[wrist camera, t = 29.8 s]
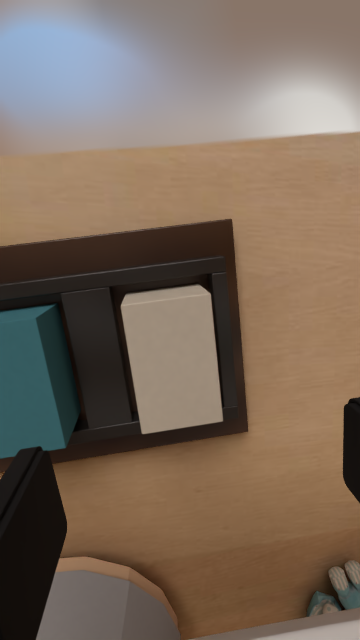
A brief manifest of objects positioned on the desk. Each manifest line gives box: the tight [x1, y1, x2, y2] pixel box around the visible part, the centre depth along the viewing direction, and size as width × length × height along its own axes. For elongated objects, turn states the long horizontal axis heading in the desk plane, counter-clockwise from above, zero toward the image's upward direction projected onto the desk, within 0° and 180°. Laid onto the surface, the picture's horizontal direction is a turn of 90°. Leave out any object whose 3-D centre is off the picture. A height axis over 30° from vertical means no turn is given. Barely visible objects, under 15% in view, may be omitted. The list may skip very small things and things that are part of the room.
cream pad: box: [121, 284, 223, 434], centre depth 21 cm, size 8×5×4 cm, turn 7°
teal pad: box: [0, 303, 81, 459], centre depth 20 cm, size 8×5×4 cm, turn 7°
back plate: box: [0, 219, 248, 472], centre depth 23 cm, size 16×20×3 cm
